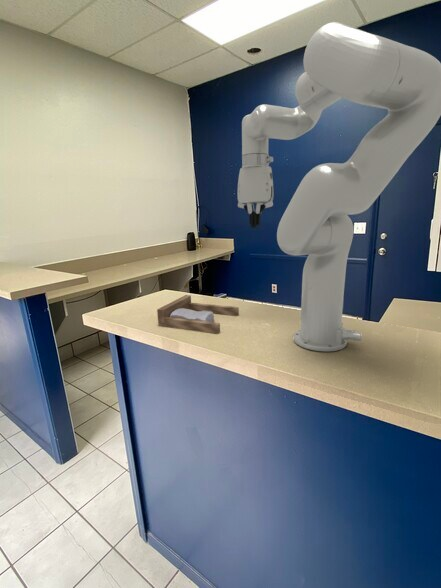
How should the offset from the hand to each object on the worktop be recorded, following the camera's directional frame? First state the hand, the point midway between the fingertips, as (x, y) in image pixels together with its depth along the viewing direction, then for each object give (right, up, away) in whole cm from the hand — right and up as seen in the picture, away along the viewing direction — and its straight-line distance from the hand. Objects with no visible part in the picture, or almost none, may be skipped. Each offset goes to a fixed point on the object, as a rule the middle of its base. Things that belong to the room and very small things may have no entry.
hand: (255, 227), depth 94 cm
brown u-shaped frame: (-16, -28, 0) cm, 33 cm away
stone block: (-19, -29, -1) cm, 35 cm away
